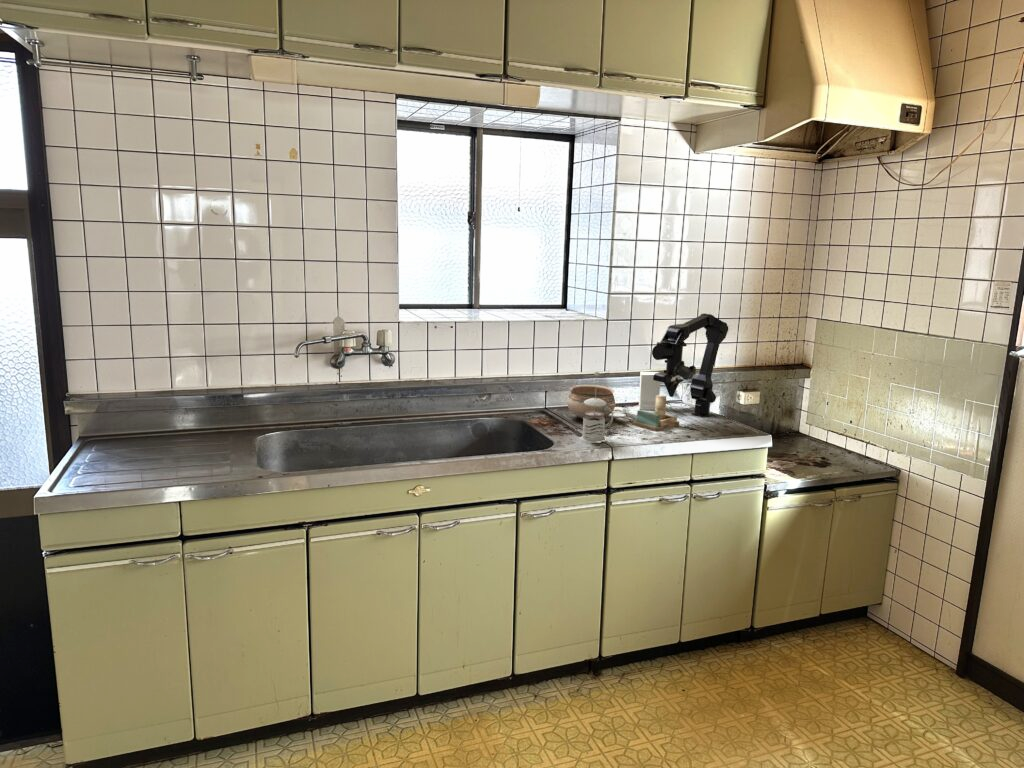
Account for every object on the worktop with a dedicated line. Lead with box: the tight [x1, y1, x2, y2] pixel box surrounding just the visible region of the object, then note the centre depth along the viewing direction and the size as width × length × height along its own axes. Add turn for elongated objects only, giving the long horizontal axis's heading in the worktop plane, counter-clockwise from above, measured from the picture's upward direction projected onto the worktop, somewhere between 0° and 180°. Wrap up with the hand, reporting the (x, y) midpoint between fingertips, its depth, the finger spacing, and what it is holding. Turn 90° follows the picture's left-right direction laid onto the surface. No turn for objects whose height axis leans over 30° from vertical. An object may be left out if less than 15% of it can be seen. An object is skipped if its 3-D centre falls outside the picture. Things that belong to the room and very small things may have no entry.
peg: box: [654, 394, 667, 420], centre depth 278 cm, size 4×4×10 cm
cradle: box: [631, 409, 680, 432], centre depth 278 cm, size 16×11×6 cm
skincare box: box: [638, 371, 661, 411], centre depth 302 cm, size 8×7×16 cm
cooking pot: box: [566, 384, 617, 421], centre depth 282 cm, size 25×19×12 cm
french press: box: [579, 371, 614, 442], centre depth 253 cm, size 10×12×25 cm
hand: (671, 396), depth 282 cm, fingers closed
